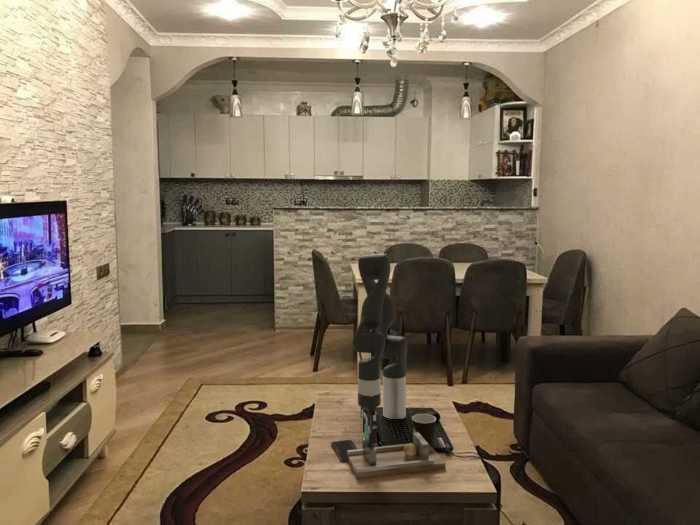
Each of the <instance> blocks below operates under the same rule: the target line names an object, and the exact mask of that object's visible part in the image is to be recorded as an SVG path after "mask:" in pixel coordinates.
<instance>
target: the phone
mask: <svg viewBox="0 0 700 525" xmlns="http://www.w3.org/2000/svg"><path fill="white" fill-rule="evenodd" d="M330 445H331V448H332V449H333V450H334V452H335V454H336V456H337V458H338V459H339V461H340V462H342V463H346V462H347V463H349V462H348V458H347V450H355V449H358V447H357V446H356V444H355V443H354V441H353V440H351V439H345V440H337V441H332V442H331V444H330Z"/></svg>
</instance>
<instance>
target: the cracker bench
mask: <svg viewBox="0 0 700 525" xmlns="http://www.w3.org/2000/svg"><path fill="white" fill-rule="evenodd" d="M407 444H408V443H405V444H404V443H403V444H402V443H401V444H394V445H393V444H392V445H384V446H376V447H375V446H374V447H375V449H376V465H375V466H369V464H368V462H367V460H366V458H365V457H364V455H363V448H357V449H355V450H347V458H348V462H347V463H348V464H349V466H350V467H351V468H350V469H351V470H352V472H353V473H354V476H355V478H356V480H365V479H372V478H380V477H389V476H398V475H405V474H413V473H423V472H430V471H431V472H432V471H439V470H446V462H445V461H444V459H443V458H442V457H441V456H440V455H439V454H438V452H437V451H436V450H435V449H434V448H433V446H432V447H431V445H430V444H428V443H427V442H426V441H425V439H424V438H423V437H422V436H421V435H420V433H419V432H416V433H414V432H413V433H412V442H411V444H414V445H415V446H416V449H417V452H416V454H415V458H409V459H407V457H406V456H405V453H404V447H405V445H407Z"/></svg>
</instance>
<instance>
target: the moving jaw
mask: <svg viewBox="0 0 700 525" xmlns="http://www.w3.org/2000/svg"><path fill="white" fill-rule="evenodd" d="M369 423H370V422H369ZM373 429H374V426H373ZM374 445H375V443H374V444H370V443H369V428H368V426H367V425H366V423H365V433H364V437H362V449H363V455H364V457H365V458H366V460H367V462H368V464H369V466H375V465H376V449H375V446H374Z"/></svg>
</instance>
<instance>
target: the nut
mask: <svg viewBox="0 0 700 525" xmlns="http://www.w3.org/2000/svg"><path fill="white" fill-rule="evenodd" d="M411 443H412V442H411ZM411 443H406V444H407V445H405V447H404V453H405V456H406V457H407V459H409V458H415V454H416V452H417V449H416V446H415V445H414V444H411Z"/></svg>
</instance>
